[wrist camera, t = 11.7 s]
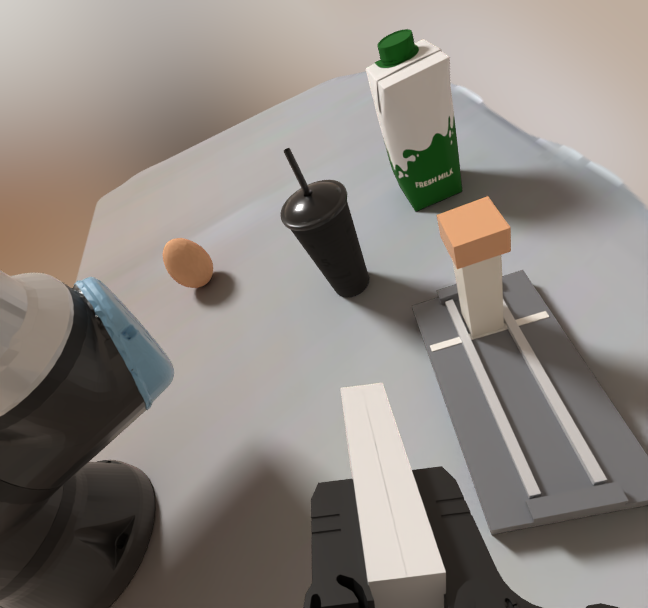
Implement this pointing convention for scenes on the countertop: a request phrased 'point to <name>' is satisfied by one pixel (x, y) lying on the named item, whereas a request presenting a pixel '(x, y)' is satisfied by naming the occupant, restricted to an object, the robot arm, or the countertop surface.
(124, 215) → the countertop surface
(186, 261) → the egg
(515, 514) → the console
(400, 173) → the milk carton
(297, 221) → the drinking cup
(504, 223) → the fader
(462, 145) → the countertop surface
